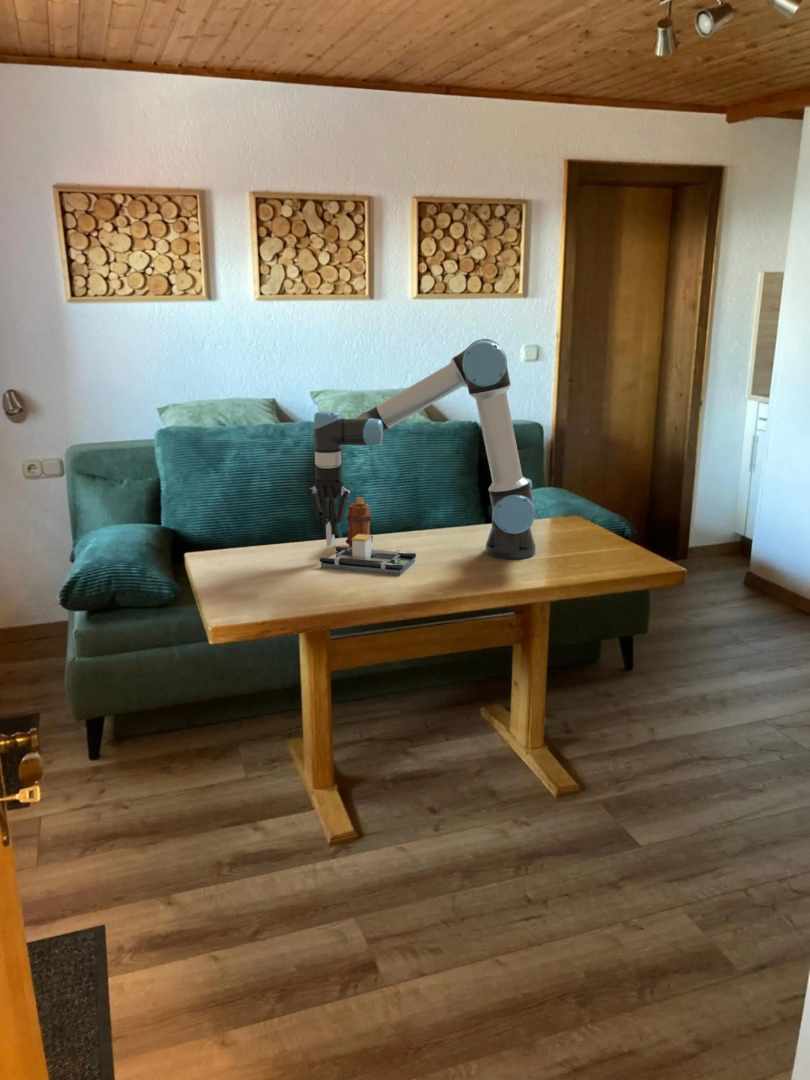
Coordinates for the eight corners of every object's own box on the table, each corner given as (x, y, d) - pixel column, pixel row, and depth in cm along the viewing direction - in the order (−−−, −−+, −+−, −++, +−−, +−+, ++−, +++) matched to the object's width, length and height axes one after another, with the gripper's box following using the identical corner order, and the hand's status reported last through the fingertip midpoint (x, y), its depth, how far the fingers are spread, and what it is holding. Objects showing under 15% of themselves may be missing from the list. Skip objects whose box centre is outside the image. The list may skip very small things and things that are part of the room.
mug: (371, 553, 261) (371, 505, 257) (345, 553, 261) (344, 505, 257) (374, 541, 275) (373, 495, 271) (349, 540, 275) (348, 495, 271)
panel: (416, 561, 252) (416, 551, 252) (401, 575, 239) (401, 565, 239) (337, 554, 260) (337, 545, 259) (319, 568, 247) (318, 557, 246)
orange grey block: (371, 556, 251) (371, 534, 250) (365, 561, 247) (365, 539, 245) (358, 555, 253) (358, 533, 251) (352, 560, 248) (351, 538, 246)
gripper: (354, 464, 247) (356, 543, 253) (312, 462, 251) (315, 539, 257) (344, 469, 240) (346, 549, 246) (302, 466, 244) (305, 546, 250)
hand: (330, 544), depth 252 cm, fingers closed
